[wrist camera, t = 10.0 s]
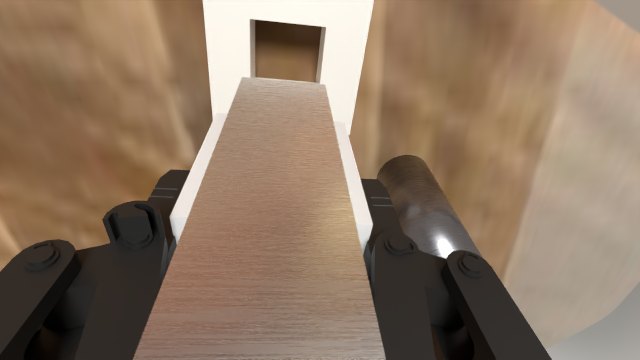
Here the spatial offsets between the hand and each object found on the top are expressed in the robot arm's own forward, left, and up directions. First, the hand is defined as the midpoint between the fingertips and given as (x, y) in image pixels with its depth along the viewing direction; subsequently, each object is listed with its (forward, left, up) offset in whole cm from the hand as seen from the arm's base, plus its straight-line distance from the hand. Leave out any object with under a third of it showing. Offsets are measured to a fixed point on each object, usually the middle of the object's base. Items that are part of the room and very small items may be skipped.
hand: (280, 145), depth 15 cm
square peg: (0, 0, -3) cm, 3 cm away
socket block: (0, 0, -17) cm, 17 cm away
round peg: (-13, -14, -17) cm, 26 cm away
